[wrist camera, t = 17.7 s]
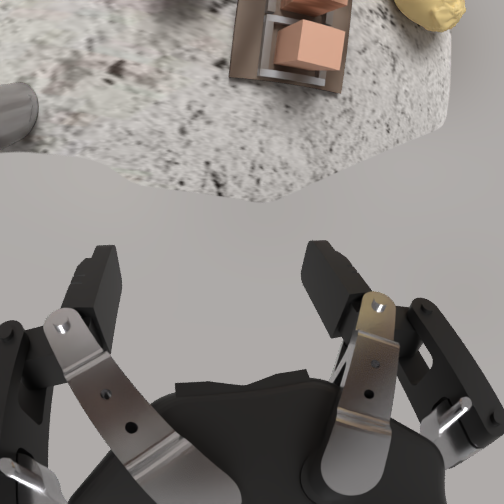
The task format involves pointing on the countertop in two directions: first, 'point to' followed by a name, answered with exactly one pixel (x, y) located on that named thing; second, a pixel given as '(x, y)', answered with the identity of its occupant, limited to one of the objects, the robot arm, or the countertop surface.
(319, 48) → the pillar
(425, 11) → the sculpture
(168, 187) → the countertop surface
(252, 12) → the wooden block stand
